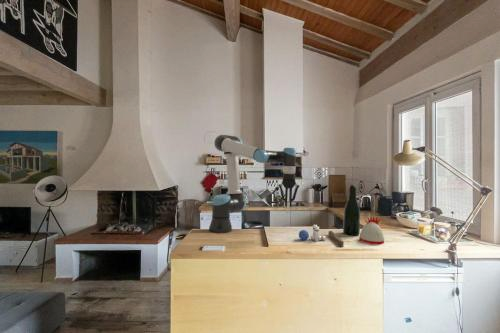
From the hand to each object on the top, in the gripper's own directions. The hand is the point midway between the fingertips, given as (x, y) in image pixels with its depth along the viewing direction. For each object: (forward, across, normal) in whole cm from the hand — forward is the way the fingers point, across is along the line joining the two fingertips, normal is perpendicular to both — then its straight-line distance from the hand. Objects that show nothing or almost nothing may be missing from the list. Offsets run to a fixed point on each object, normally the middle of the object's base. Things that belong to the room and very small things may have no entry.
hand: (287, 212), depth 167 cm
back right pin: (+16, +17, -2) cm, 24 cm away
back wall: (+16, +29, 0) cm, 34 cm away
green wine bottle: (+17, +45, +18) cm, 51 cm away
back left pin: (+16, +17, +2) cm, 24 cm away
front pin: (+15, +14, 0) cm, 21 cm away
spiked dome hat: (+17, +52, +3) cm, 55 cm away
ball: (+13, +10, -1) cm, 17 cm away
